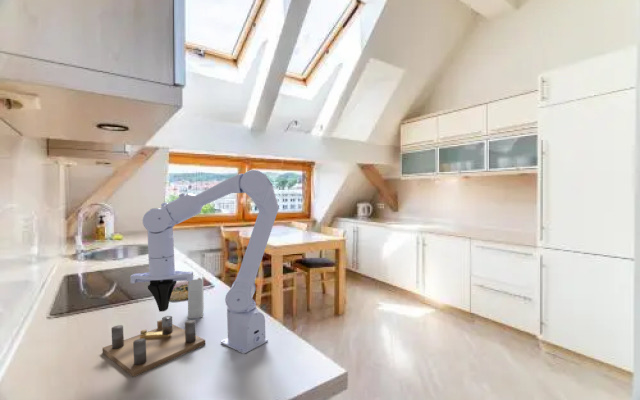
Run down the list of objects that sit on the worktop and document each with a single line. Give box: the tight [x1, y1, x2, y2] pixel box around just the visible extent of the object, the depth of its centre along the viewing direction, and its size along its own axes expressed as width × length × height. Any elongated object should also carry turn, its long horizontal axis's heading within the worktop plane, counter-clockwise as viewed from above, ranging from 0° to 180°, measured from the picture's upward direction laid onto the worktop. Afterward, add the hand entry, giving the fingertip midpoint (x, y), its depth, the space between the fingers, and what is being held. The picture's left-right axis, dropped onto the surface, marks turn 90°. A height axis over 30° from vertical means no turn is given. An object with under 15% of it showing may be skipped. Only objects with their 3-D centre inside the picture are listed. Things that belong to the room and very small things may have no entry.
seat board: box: [101, 319, 206, 378], centre depth 78 cm, size 17×17×6 cm
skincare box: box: [187, 273, 205, 320], centre depth 99 cm, size 6×4×12 cm
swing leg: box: [139, 315, 173, 339], centre depth 82 cm, size 8×2×5 cm, turn 94°
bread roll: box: [170, 283, 188, 301], centre depth 117 cm, size 11×11×5 cm
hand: (163, 310), depth 79 cm, fingers closed
